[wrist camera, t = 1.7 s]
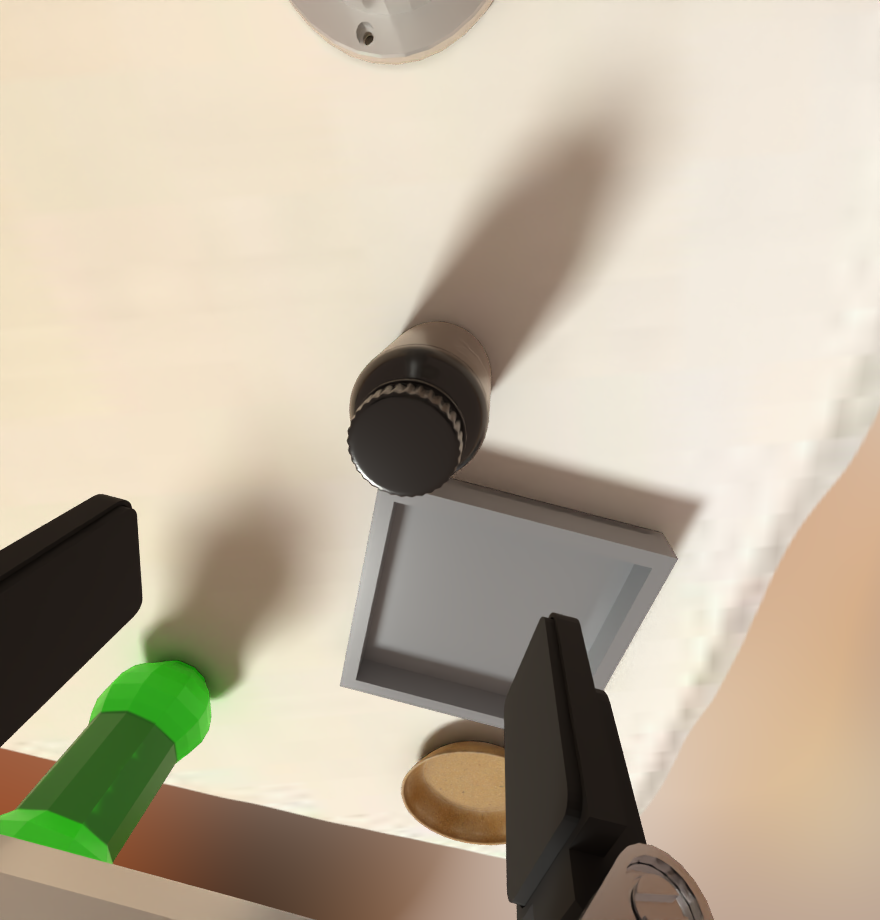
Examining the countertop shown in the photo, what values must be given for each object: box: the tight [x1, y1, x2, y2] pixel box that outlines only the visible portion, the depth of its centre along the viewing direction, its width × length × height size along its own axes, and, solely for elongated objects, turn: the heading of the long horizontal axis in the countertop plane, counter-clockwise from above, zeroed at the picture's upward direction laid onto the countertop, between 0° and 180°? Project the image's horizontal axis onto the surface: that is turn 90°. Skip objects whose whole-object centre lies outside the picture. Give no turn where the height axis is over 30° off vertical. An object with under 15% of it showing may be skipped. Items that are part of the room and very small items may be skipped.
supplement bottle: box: [347, 321, 491, 497], centre depth 24 cm, size 7×7×12 cm
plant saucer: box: [401, 741, 506, 845], centre depth 45 cm, size 15×15×3 cm
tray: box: [340, 478, 678, 729], centre depth 35 cm, size 20×20×3 cm
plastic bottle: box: [0, 660, 211, 864], centre depth 33 cm, size 10×10×25 cm
